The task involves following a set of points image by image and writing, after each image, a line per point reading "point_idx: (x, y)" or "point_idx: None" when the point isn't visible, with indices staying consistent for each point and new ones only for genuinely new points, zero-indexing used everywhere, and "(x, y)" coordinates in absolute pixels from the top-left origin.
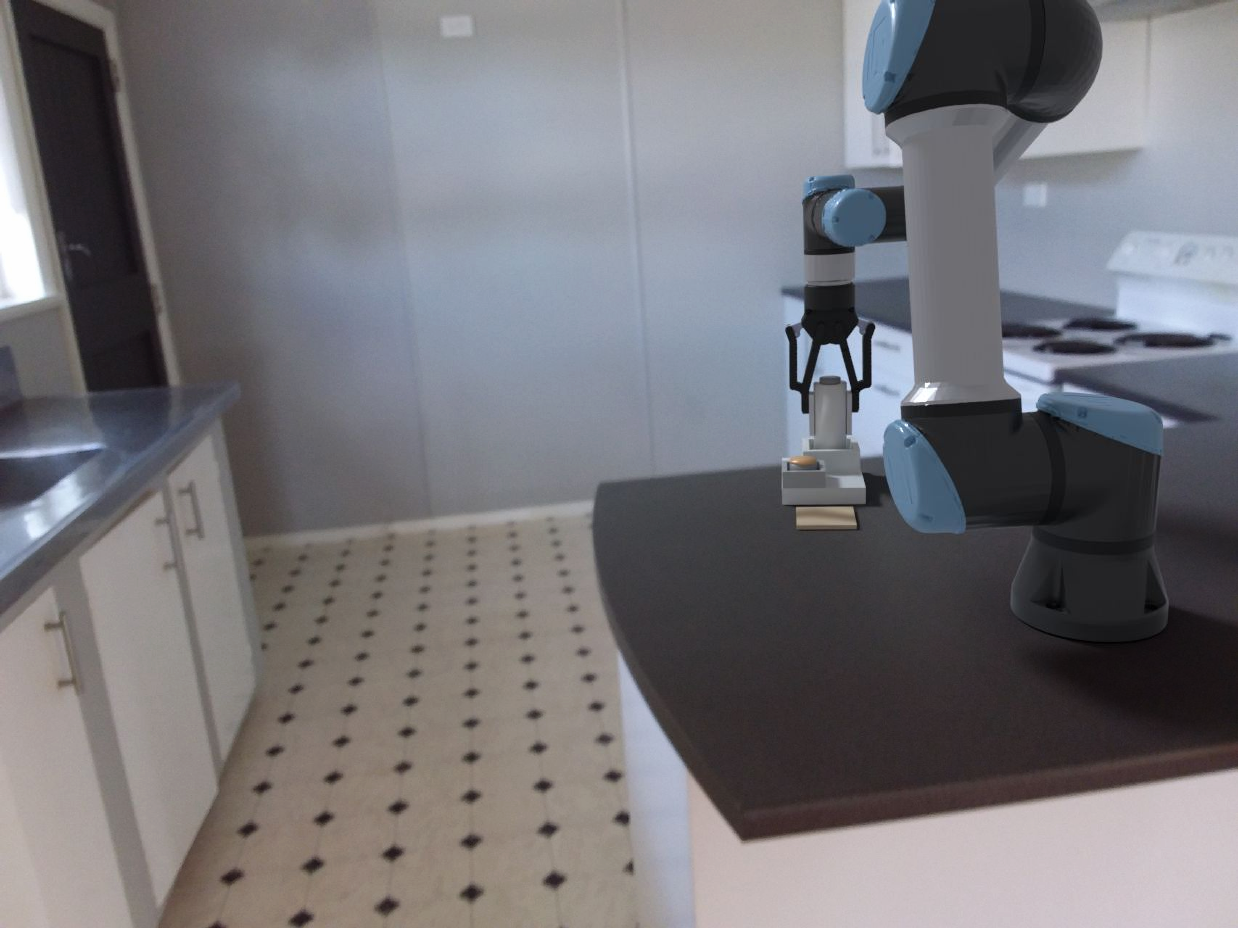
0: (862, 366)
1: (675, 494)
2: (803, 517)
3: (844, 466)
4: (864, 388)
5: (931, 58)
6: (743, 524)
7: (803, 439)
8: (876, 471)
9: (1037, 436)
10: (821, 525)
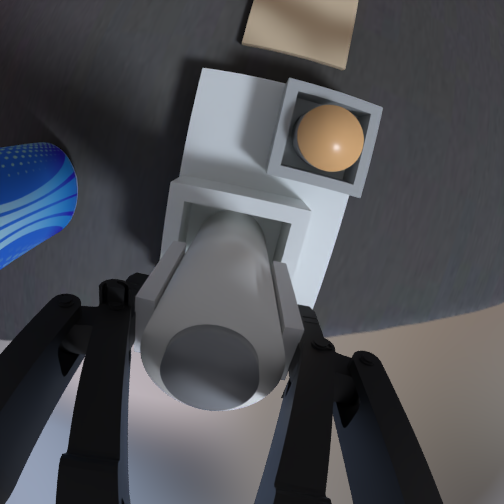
0: (58, 391)
1: (480, 229)
2: (343, 17)
3: (213, 183)
4: (84, 306)
5: None
6: (428, 48)
7: None
8: (138, 270)
9: None
10: None
